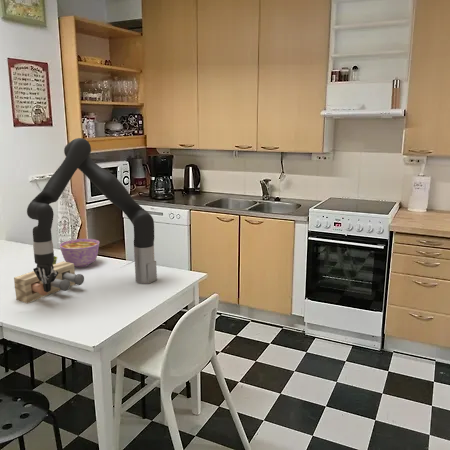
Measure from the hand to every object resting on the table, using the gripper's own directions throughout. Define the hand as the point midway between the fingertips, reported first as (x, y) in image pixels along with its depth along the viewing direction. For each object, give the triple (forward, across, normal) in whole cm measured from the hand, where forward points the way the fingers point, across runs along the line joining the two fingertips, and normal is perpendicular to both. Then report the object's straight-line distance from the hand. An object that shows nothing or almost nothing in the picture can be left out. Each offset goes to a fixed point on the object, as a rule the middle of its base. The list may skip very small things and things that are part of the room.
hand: (47, 291), depth 192 cm
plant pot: (+5, +28, -23) cm, 37 cm away
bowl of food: (+5, +27, -43) cm, 51 cm away
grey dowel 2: (+2, +4, -16) cm, 17 cm away
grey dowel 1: (+2, +4, -8) cm, 9 cm away
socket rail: (+5, +11, -8) cm, 14 cm away
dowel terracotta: (+2, +8, 0) cm, 8 cm away
